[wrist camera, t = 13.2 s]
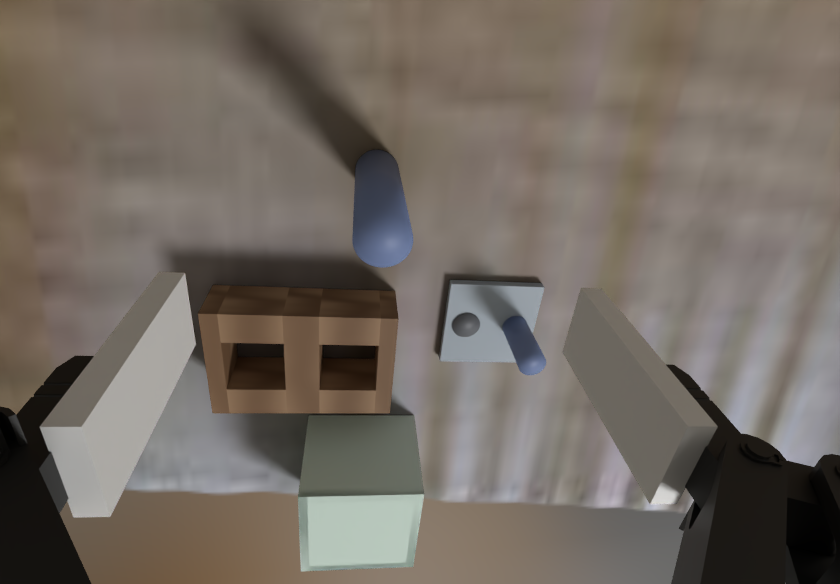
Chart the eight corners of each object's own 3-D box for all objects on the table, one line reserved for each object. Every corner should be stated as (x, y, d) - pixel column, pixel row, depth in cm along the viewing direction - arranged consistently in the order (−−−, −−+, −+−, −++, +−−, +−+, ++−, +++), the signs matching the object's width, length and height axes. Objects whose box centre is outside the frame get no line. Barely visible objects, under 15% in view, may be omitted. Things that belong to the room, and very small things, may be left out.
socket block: (224, 379, 37) (212, 413, 34) (212, 284, 33) (197, 313, 30) (387, 380, 38) (389, 413, 35) (395, 290, 34) (398, 318, 31)
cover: (310, 486, 43) (300, 571, 37) (308, 415, 39) (298, 497, 33) (405, 484, 45) (413, 566, 38) (414, 415, 40) (424, 494, 34)
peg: (377, 140, 29) (383, 199, 20) (407, 171, 30) (425, 240, 22) (346, 170, 30) (339, 240, 21) (377, 200, 31) (382, 278, 22)
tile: (438, 356, 38) (448, 402, 33) (449, 279, 34) (462, 319, 30) (523, 357, 38) (543, 402, 34) (541, 283, 35) (566, 322, 31)
